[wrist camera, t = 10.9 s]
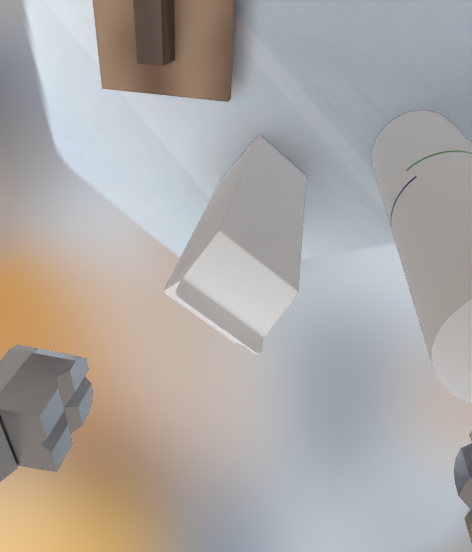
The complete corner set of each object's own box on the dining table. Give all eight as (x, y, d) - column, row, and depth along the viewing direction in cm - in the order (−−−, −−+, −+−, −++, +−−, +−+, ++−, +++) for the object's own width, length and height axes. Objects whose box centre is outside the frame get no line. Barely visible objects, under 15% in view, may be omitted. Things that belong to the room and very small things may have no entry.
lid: (239, -66, 27) (228, -73, 24) (230, 98, 33) (220, 111, 30) (91, -76, 28) (61, -84, 25) (107, 86, 34) (84, 96, 31)
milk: (259, 133, 39) (207, 256, 21) (307, 176, 40) (299, 326, 22) (219, 181, 42) (143, 324, 24) (265, 219, 43) (228, 381, 25)
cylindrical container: (354, 165, 39) (394, 362, 18) (409, 93, 35) (536, 242, 14) (417, 204, 40) (521, 431, 20) (477, 138, 36) (685, 337, 16)
